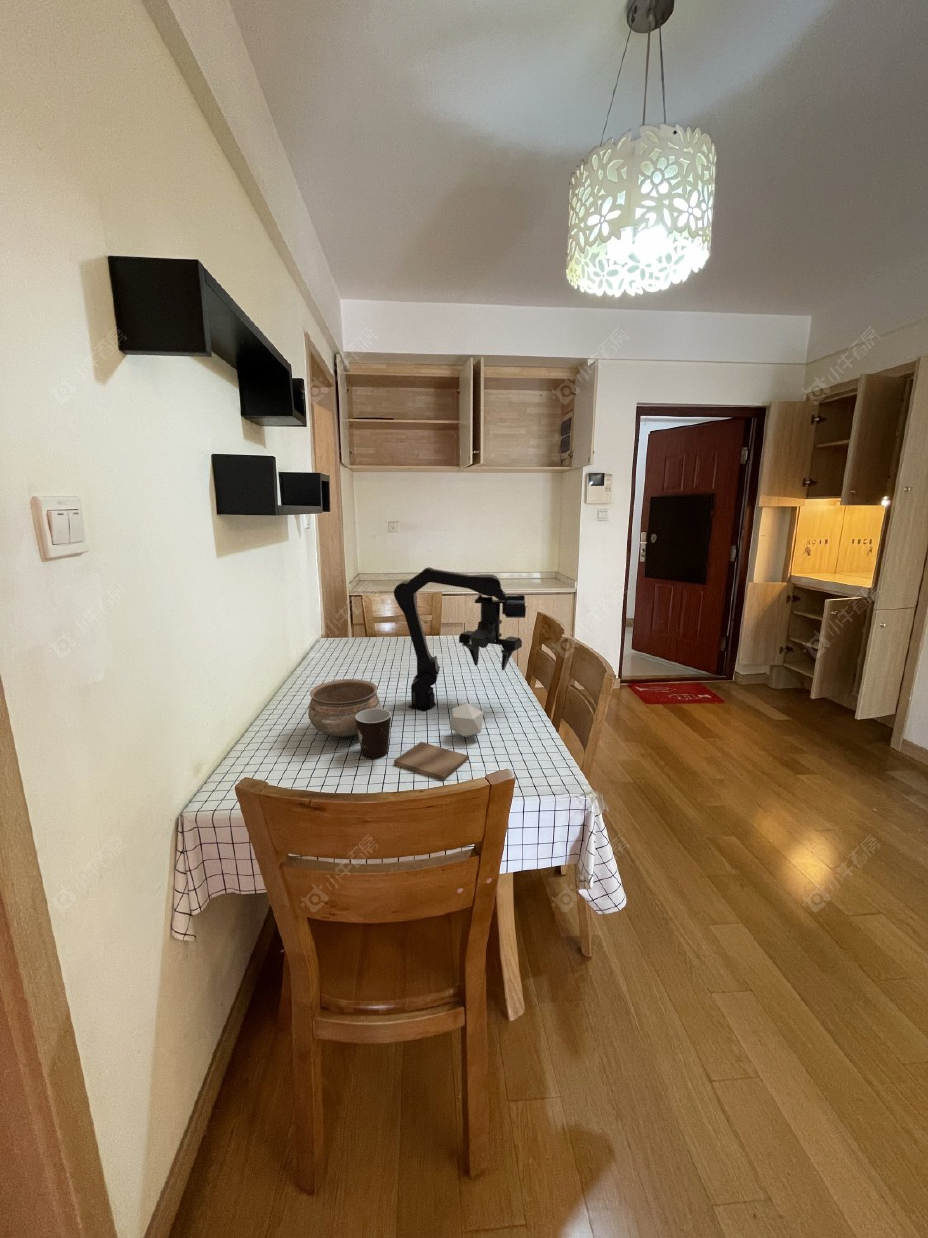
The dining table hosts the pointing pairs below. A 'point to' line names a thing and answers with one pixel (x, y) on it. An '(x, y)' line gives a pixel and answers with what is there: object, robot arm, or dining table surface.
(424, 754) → the board
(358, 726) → the coffee mug
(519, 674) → the dining table surface
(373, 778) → the dining table surface
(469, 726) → the die
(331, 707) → the cooking pot
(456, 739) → the dining table surface
